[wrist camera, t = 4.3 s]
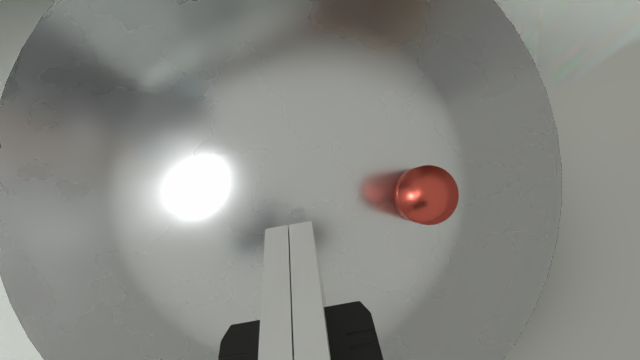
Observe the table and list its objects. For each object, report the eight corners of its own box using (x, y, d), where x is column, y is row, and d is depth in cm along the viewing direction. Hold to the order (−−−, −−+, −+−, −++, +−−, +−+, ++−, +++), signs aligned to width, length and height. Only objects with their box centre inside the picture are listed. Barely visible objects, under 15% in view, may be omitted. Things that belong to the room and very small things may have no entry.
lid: (84, 691, 16) (39, 787, 13) (-28, -33, 17) (-89, -75, 14) (629, 581, 16) (688, 653, 14) (488, -119, 17) (519, -175, 15)
